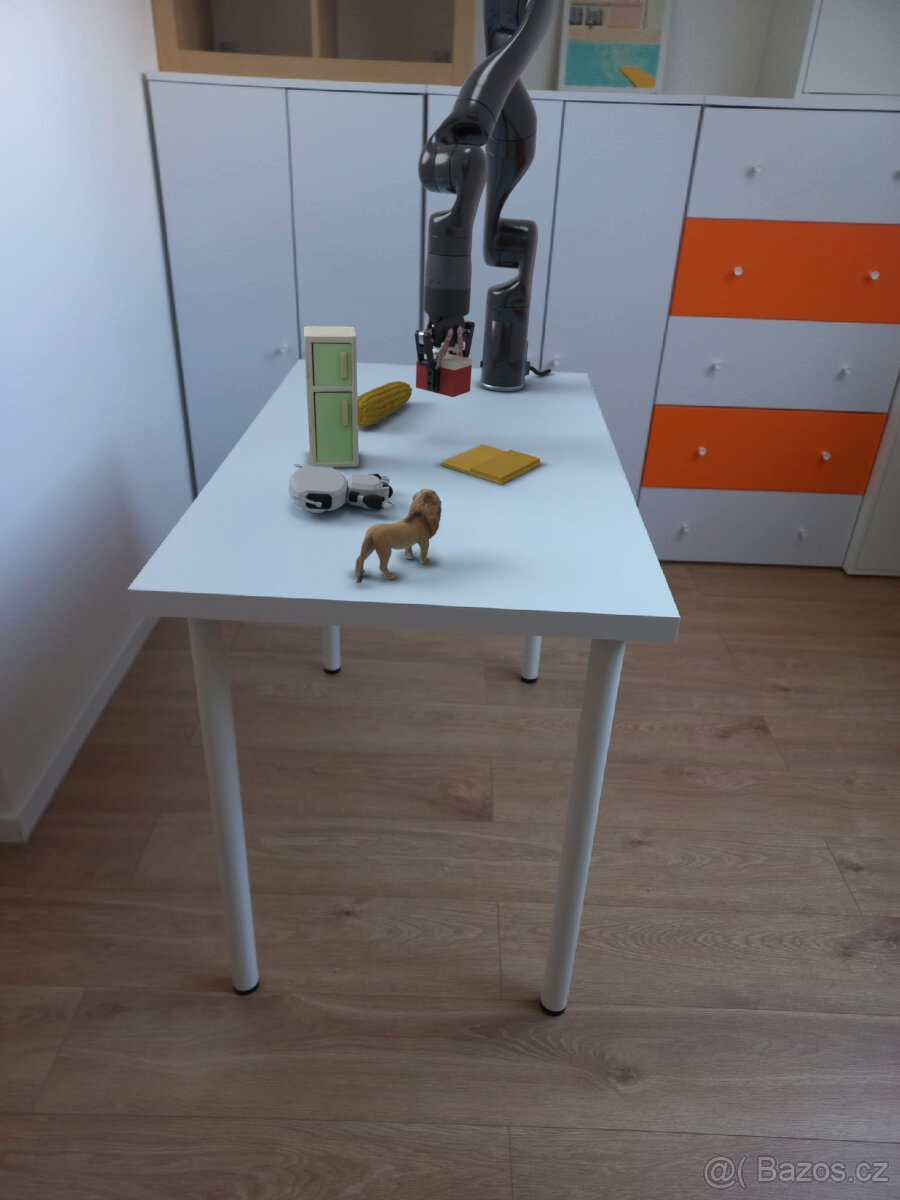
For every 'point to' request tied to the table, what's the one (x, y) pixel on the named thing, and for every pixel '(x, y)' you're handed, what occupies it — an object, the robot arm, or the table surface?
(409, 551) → the lion figurine
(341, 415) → the toy refrigerator
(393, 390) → the food
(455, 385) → the toy cooler box
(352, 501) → the robot toy
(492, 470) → the cloth
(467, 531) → the table surface
